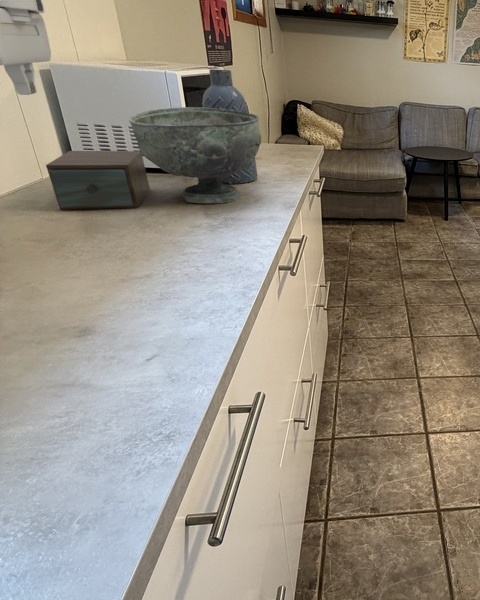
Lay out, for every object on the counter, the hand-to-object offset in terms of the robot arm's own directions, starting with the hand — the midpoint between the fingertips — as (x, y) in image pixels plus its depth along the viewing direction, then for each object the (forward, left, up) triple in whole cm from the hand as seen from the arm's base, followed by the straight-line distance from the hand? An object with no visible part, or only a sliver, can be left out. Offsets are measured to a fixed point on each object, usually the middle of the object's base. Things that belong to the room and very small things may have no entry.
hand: (27, 94), depth 77 cm
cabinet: (0, +27, -25) cm, 37 cm away
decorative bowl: (+22, +26, -25) cm, 42 cm away
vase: (+27, +45, -25) cm, 58 cm away
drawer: (0, +25, -24) cm, 35 cm away
